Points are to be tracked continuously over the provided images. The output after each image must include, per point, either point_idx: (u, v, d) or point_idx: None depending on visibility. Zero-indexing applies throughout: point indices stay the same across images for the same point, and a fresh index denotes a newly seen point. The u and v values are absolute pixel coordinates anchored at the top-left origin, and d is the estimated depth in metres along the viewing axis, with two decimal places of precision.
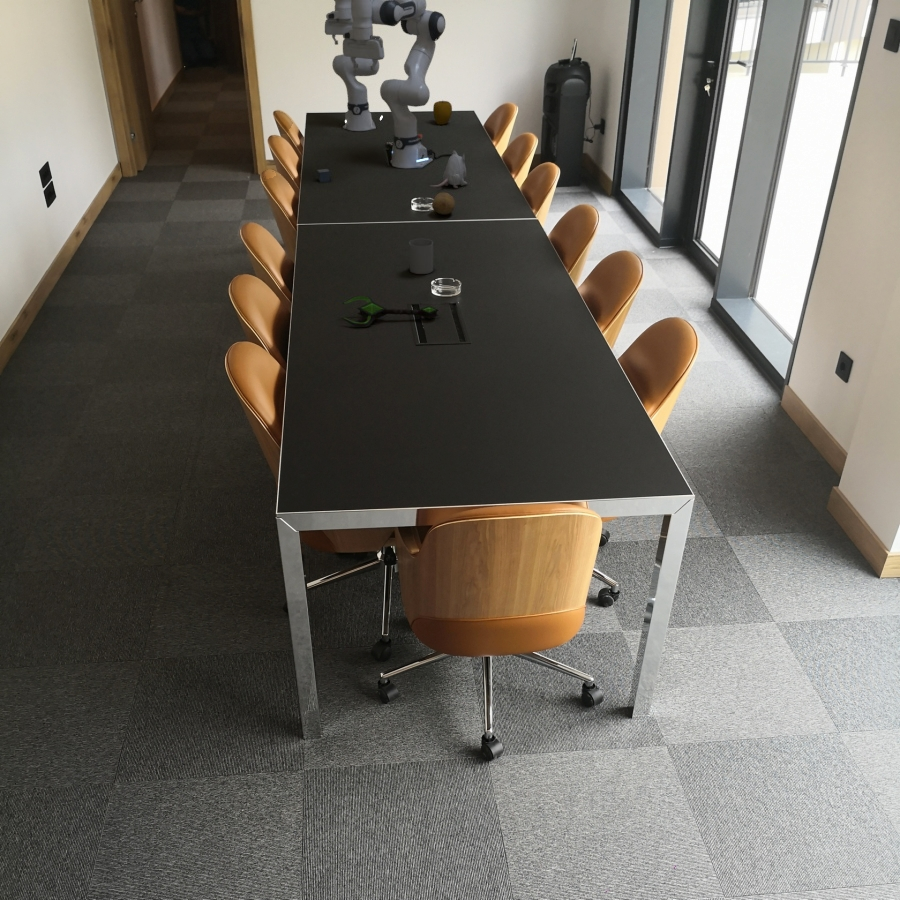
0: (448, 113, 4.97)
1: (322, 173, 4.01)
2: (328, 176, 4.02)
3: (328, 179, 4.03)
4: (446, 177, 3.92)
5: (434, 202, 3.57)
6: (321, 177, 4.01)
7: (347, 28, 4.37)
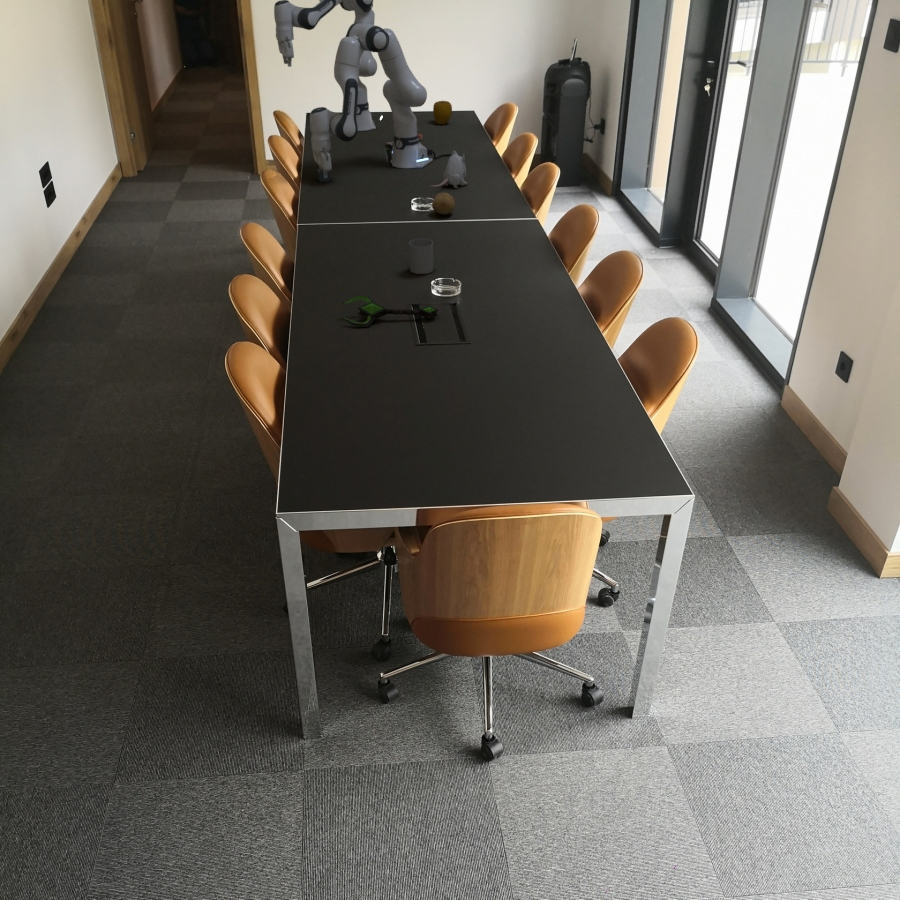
0: (448, 113, 4.97)
1: (322, 173, 4.01)
2: (328, 176, 4.02)
3: (328, 179, 4.03)
4: (446, 177, 3.92)
5: (434, 202, 3.57)
6: (321, 177, 4.01)
7: (283, 49, 4.47)
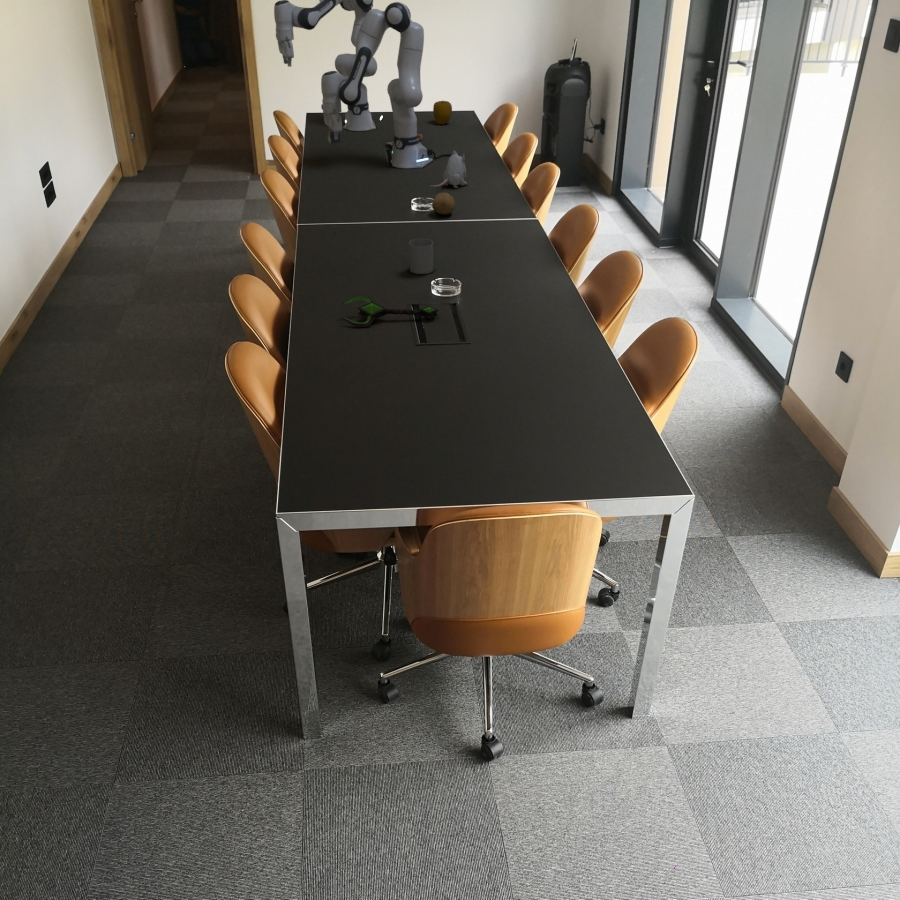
0: (448, 113, 4.97)
1: (333, 135, 4.19)
2: (338, 138, 4.21)
3: (338, 141, 4.21)
4: (446, 177, 3.92)
5: (434, 202, 3.57)
6: (332, 139, 4.20)
7: (283, 49, 4.47)
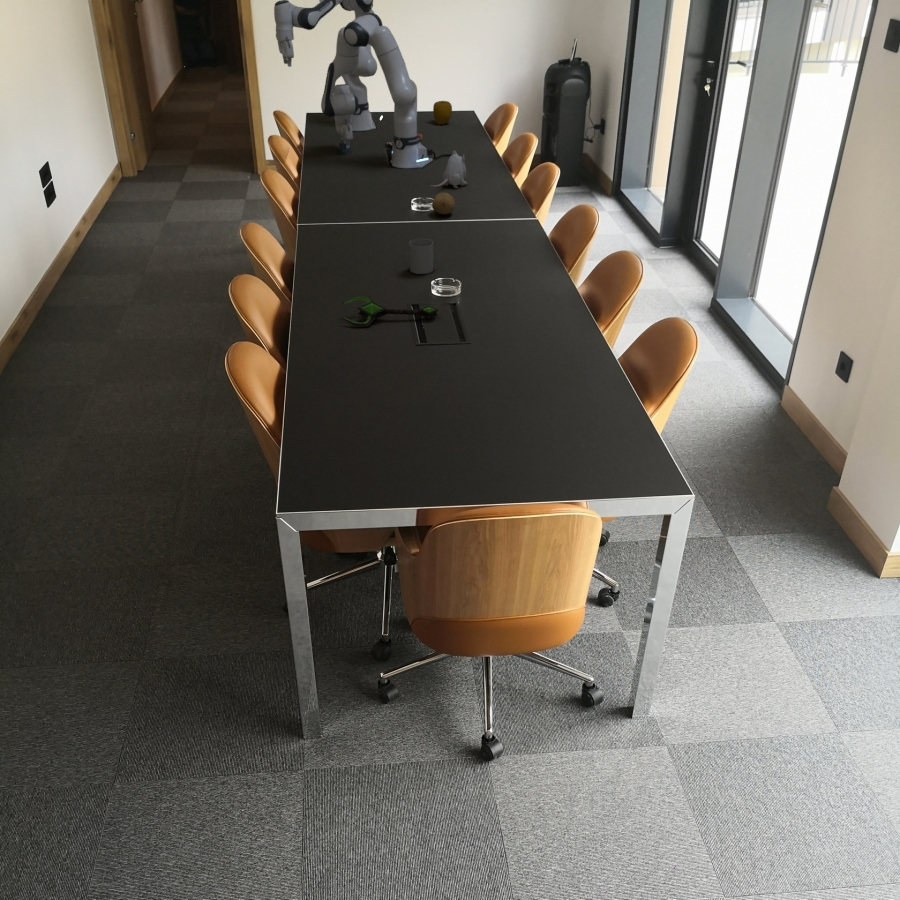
0: (448, 113, 4.97)
1: (343, 144, 4.47)
2: None
3: (349, 150, 4.49)
4: (446, 177, 3.92)
5: (434, 202, 3.57)
6: (343, 148, 4.47)
7: (283, 49, 4.47)
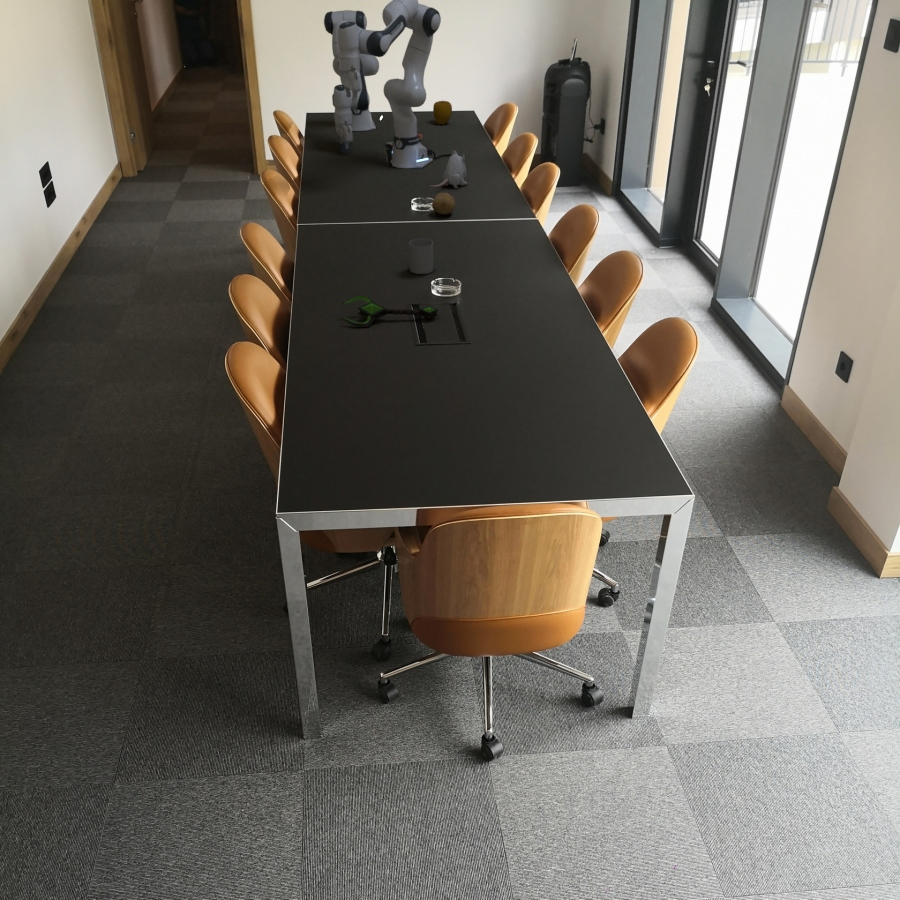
0: (448, 113, 4.97)
1: (343, 144, 4.47)
2: (349, 147, 4.48)
3: (349, 150, 4.49)
4: (446, 177, 3.92)
5: (434, 202, 3.57)
6: (343, 148, 4.47)
7: (341, 133, 4.44)
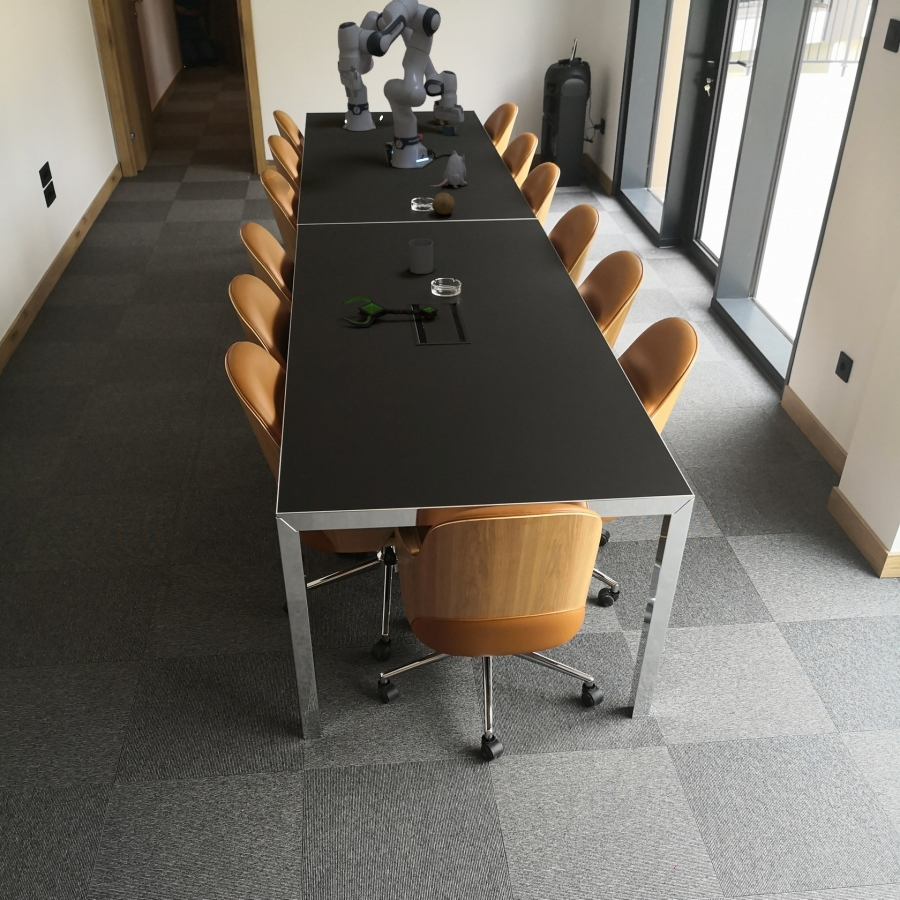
0: None
1: (450, 128, 4.79)
2: (453, 130, 4.82)
3: (453, 132, 4.82)
4: (446, 177, 3.92)
5: (434, 202, 3.57)
6: (449, 131, 4.80)
7: (449, 115, 4.75)
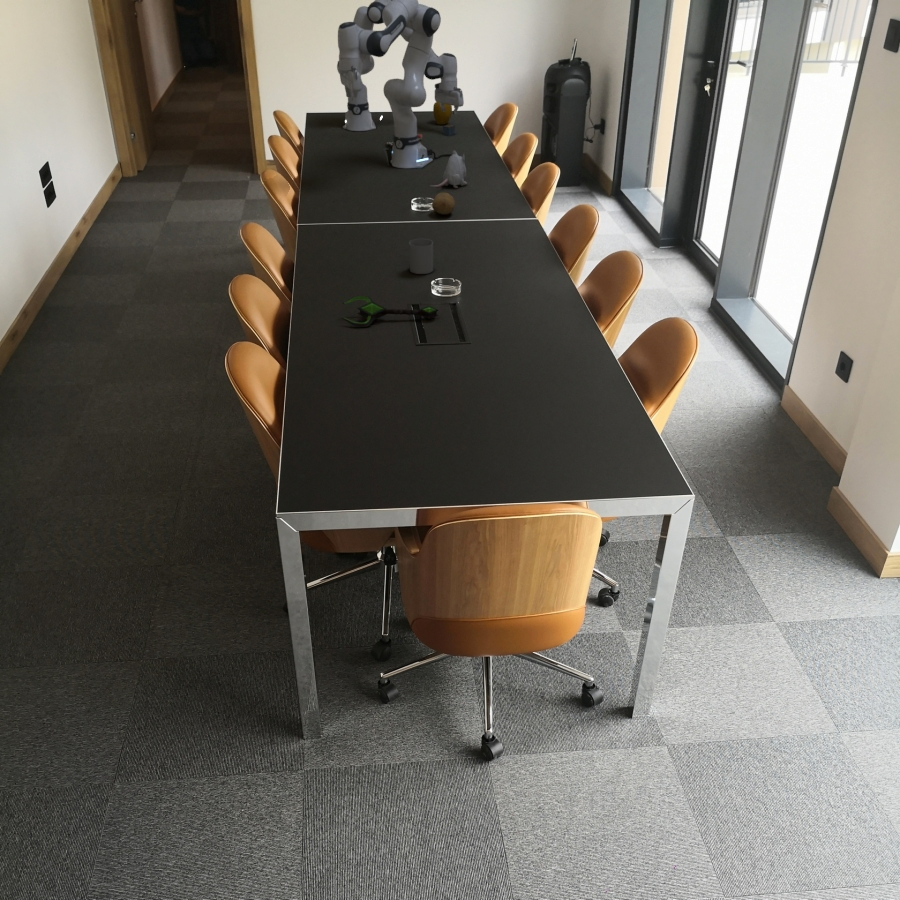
0: (448, 113, 4.97)
1: (450, 128, 4.79)
2: (453, 130, 4.82)
3: (453, 132, 4.82)
4: (446, 177, 3.92)
5: (434, 202, 3.57)
6: (449, 131, 4.80)
7: (448, 98, 4.71)
